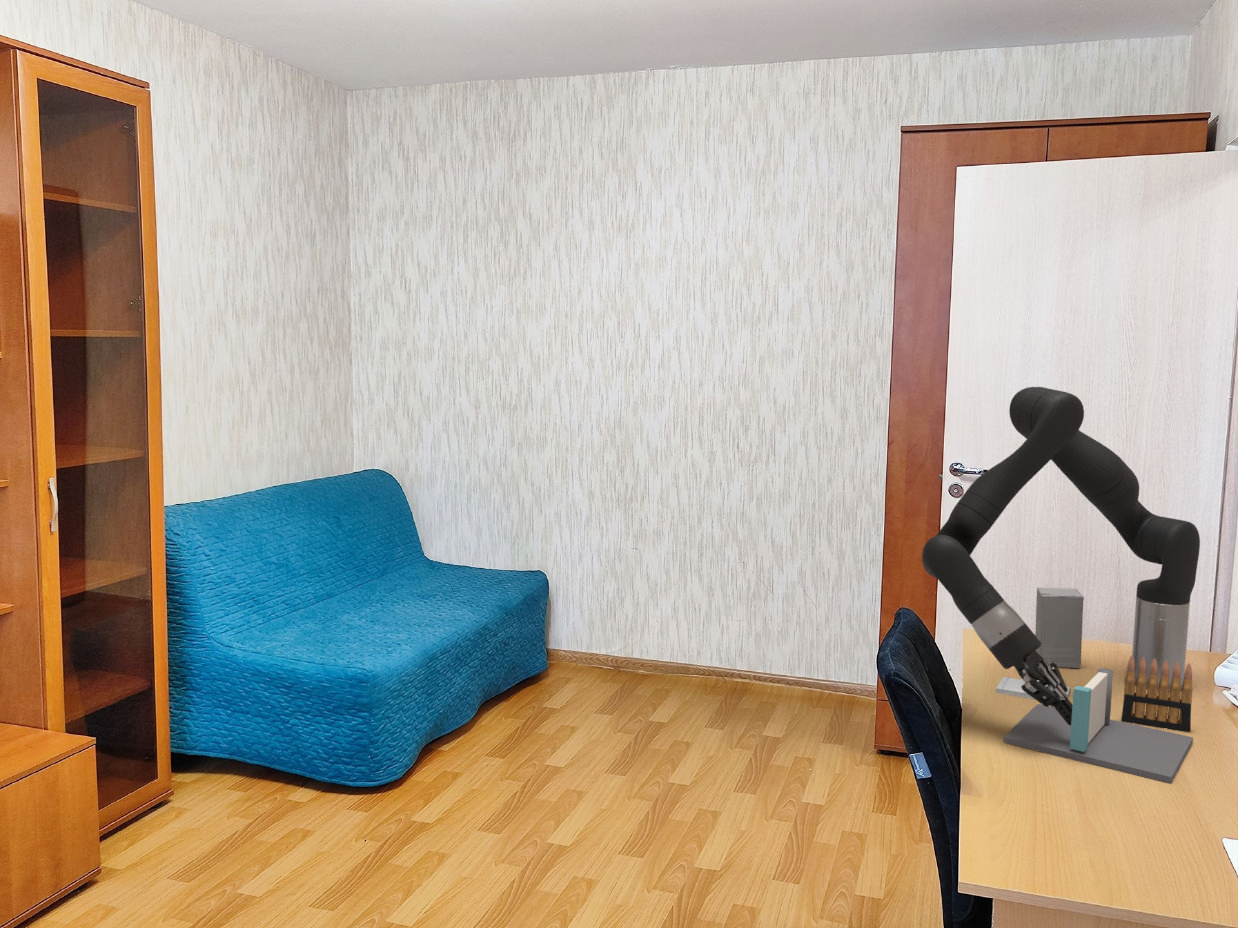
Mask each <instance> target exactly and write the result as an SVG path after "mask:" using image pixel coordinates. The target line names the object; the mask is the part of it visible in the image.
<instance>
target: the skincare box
mask: <svg viewBox="0 0 1238 928" xmlns="http://www.w3.org/2000/svg"><path fill="white" fill-rule="evenodd" d="M1084 598H1085V596H1084V595H1082V593H1081V592H1080V591H1079V589H1078V588H1072V587H1071V588H1068V587H1067V588H1066V587H1065V588H1062V587H1058V588H1057V587H1036V604H1035V607H1036V608H1035V609H1036V610H1035V633H1034V634H1035V636H1036V637H1037V638H1038V639H1039V640H1040V642H1041V646H1040V647H1039V648H1038V649H1037V650H1036V652H1037V653H1038V654H1039V655H1040V656H1042V657H1043V658H1044V659H1045V660H1046V661H1047V662H1048V664H1051V663H1052V662H1054V663H1055V664H1056V665H1057V667H1058V668H1070V669H1071V668H1072V669H1080V668H1081V667H1082V647H1083V646H1082V641H1083V640H1082V639H1083V618H1084V617H1083V615H1084V600H1085V599H1084Z"/></svg>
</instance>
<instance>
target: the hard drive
mask: <svg viewBox="0 0 1238 928" xmlns="http://www.w3.org/2000/svg"><path fill="white" fill-rule="evenodd" d="M1024 684H1025V682H1024V681H1023V680H1022V678H1014V677H1009V676H1006V677H1005V676H1002V678H1001V679H1000V681H999V682H998V684H997V686H996V688H995V693H996V694H1002V695H1007V696H1013V697H1017V698H1018V697H1019V698H1024V699H1028V700H1029V699H1030V700H1035V701H1037V700H1036V699H1034V698H1033V697H1031V696H1030V695H1029V694H1027V693H1026V692H1024V691H1023V690H1022V688H1021V686H1022V685H1024ZM1046 686H1048V685H1046ZM1066 687H1067V689H1068V691H1067V692H1066V694H1067V695H1068V697H1067V699H1068V700H1069V698H1070V696H1071V695H1070V694H1071V691H1072V688H1071V687H1070V686H1066Z"/></svg>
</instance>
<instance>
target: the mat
mask: <svg viewBox="0 0 1238 928" xmlns="http://www.w3.org/2000/svg"><path fill="white" fill-rule="evenodd" d="M1070 736H1071V725H1068V724H1067V723H1066V721H1065V720H1064V719H1063V718H1062V716H1061V715H1060V714H1059V713H1058V711H1057V710H1056V709H1055V708H1054V707H1051V706H1050V705H1049V706H1048V707H1046V706H1044V705H1043V704H1041V703H1037V704H1036V705H1034V707H1033V708H1031V710H1030V711H1029V712H1028V713H1027V714H1026V715H1025V716H1024V717H1023V718H1022V719H1020V720H1019V721H1018V722H1017V723H1016V724H1015V725H1014V726H1013V727H1011V729H1010V730H1009V731H1008V732H1007V733H1005V735H1004V736H1003V743H1005V744H1009V745H1013V746H1016V747H1020V748H1024V749H1028V748H1029V750H1033V751H1037V752H1041V753H1045V754H1049V755H1053V756H1057V757H1061V758H1065V759H1068V760H1069V759H1070V760H1073V761H1077V762H1082V763H1086V764H1090V765H1094V766H1099V767H1102V768H1107V769H1110V770H1114V771H1118V772H1123V773H1127V774H1132V775H1134V776H1139V777H1144V778H1147V779H1151V780H1155V781H1159V782H1163V783H1168V784H1172V782H1173V780H1174V779H1175V777H1176V775H1177V773H1178V772H1179V770H1180V767H1181V766H1182V764H1183V762H1184V759H1185V758H1186V757H1187V754H1188V752H1189V751H1190V749H1191V747H1192V746H1193V743H1194V742H1193V741H1194V736H1188V735H1185V734H1179V733H1175V732H1170V731H1165V730H1160V729H1158V728H1157V729H1156V728H1153V727H1152V728H1150V727H1149V726H1144V725H1139V724H1133V723H1127V722H1122V721H1121V720H1120V721H1119V720H1115V719H1111V718H1110V722H1109V723H1104V725H1103V726H1102V728H1101V729H1100V730H1099V731H1098V732H1097V734H1096V735H1095V736H1094V737H1093V738H1092V739H1091V741H1090V742H1089V743H1088V747H1087V749H1086V750H1085V752H1082V751H1078V750H1074V749H1070Z"/></svg>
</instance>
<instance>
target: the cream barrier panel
mask: <svg viewBox="0 0 1238 928" xmlns="http://www.w3.org/2000/svg"><path fill="white" fill-rule="evenodd" d="M1113 680H1114V671H1113V670H1111V669H1109V668H1104V667H1103V668H1101V667H1100V668H1097V673H1096V674H1095V675H1094V676H1093V677H1092V678H1091V679H1090V680H1089V681H1088V682H1087V684H1086V685H1084V686H1082V685H1076V686H1074V688H1073V690H1072V691H1073V693H1072V694H1073V695H1072V720H1071V736H1070V749H1074V750H1078V751H1082V752H1085V750H1086V749H1087V747H1088V743H1089V742H1090V741H1091V739H1092V738H1093V737H1094V736H1095V735H1096V734H1097V732H1098V731H1099V730H1100V729H1101V728H1102V726H1103V725H1104V723H1109V722H1110V719H1111V708H1112V693H1113Z"/></svg>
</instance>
